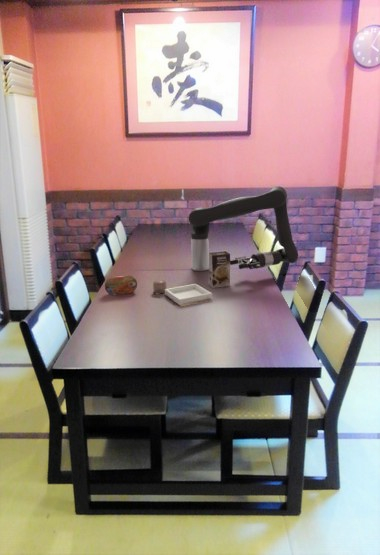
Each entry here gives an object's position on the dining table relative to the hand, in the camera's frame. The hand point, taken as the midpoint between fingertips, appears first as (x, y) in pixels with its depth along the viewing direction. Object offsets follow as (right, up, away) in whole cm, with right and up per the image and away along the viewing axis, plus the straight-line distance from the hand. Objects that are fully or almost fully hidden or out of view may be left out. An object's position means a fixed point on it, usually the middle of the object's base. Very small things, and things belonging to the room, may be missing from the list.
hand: (234, 264), depth 230 cm
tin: (-54, -14, -8) cm, 57 cm away
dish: (-23, -15, -16) cm, 32 cm away
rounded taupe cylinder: (-36, -13, -8) cm, 39 cm away
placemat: (-23, -15, -16) cm, 32 cm away
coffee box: (-7, -10, -1) cm, 13 cm away
